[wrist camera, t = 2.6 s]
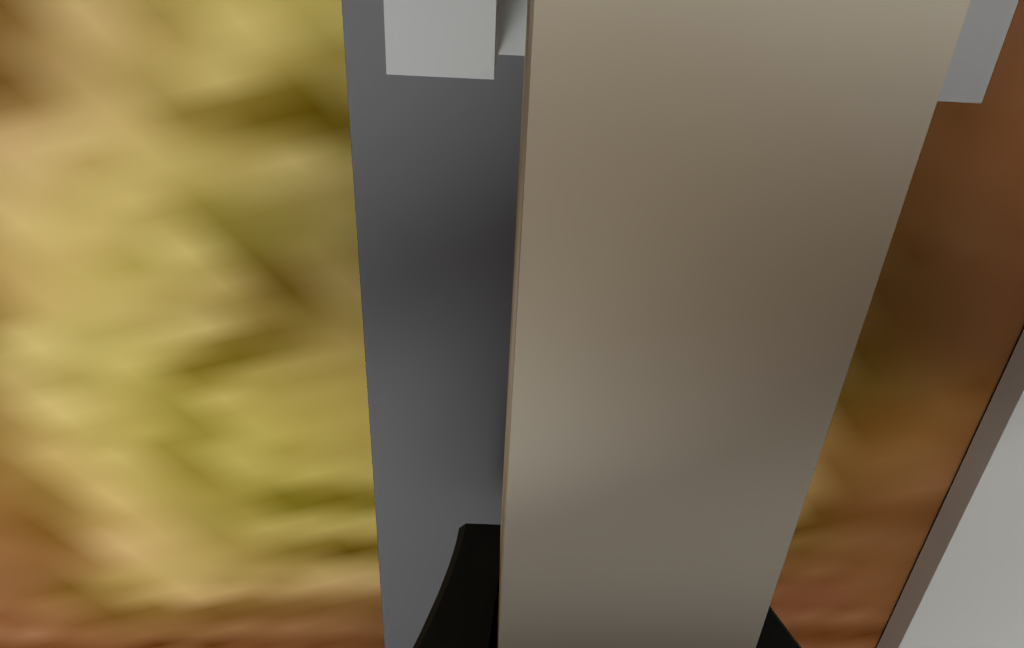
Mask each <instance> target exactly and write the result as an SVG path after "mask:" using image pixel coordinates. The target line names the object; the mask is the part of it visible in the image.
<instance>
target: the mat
mask: <svg viewBox="0 0 1024 648" xmlns="http://www.w3.org/2000/svg"><path fill="white" fill-rule="evenodd" d="M877 648H1024V330H1023V332H1022V334H1021V337H1020V339H1019V341H1018V343H1017V345H1016V347H1015V350H1014V352H1013V354H1012V356H1011V358H1010V360H1009V363H1008V365H1007V367H1006V369H1005V371H1004V373H1003V376H1002V378H1001V380H1000V382H999V384H998V386H997V388H996V391H995V393H994V395H993V397H992V399H991V401H990V404H989V406H988V408H987V410H986V412H985V414H984V417H983V419H982V421H981V423H980V425H979V427H978V430H977V432H976V434H975V436H974V438H973V440H972V443H971V445H970V447H969V449H968V451H967V453H966V456H965V458H964V460H963V462H962V464H961V466H960V469H959V471H958V473H957V475H956V477H955V479H954V481H953V484H952V486H951V488H950V490H949V492H948V494H947V497H946V499H945V501H944V503H943V505H942V507H941V510H940V512H939V514H938V516H937V518H936V520H935V523H934V525H933V527H932V529H931V531H930V533H929V536H928V538H927V540H926V542H925V544H924V546H923V549H922V551H921V553H920V555H919V557H918V559H917V561H916V564H915V566H914V568H913V570H912V572H911V574H910V577H909V579H908V581H907V583H906V585H905V587H904V590H903V592H902V594H901V596H900V598H899V600H898V603H897V605H896V607H895V609H894V611H893V613H892V616H891V618H890V620H889V622H888V624H887V626H886V629H885V631H884V633H883V635H882V637H881V639H880V641H879V644H878V646H877Z"/></svg>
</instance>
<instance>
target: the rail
mask: <svg viewBox="0 0 1024 648" xmlns="http://www.w3.org/2000/svg"><path fill="white" fill-rule="evenodd" d="M970 2H971V0H527V19H526V39H525V58H524V78H523V97H522V117H521V136H520V156H519V175H518V195H517V214H516V234H515V254H514V273H513V293H512V312H511V332H510V351H509V371H508V390H507V410H506V429H505V449H504V469H503V488H502V508H501V527H500V573H499V592H498V611H497V630H496V648H756V645H757V642H758V639H759V636H760V633H761V630H762V627H763V624H764V621H765V618H766V615H767V612H768V609H769V606H770V603H771V600H772V597H773V594H774V591H775V588H776V585H777V582H778V579H779V576H780V573H781V570H782V567H783V564H784V561H785V558H786V555H787V552H788V549H789V546H790V543H791V540H792V537H793V534H794V531H795V528H796V525H797V522H798V519H799V516H800V513H801V510H802V507H803V504H804V501H805V498H806V495H807V492H808V489H809V486H810V483H811V480H812V477H813V474H814V471H815V468H816V465H817V462H818V459H819V456H820V453H821V450H822V447H823V444H824V441H825V438H826V435H827V432H828V429H829V426H830V423H831V420H832V417H833V414H834V411H835V408H836V405H837V402H838V399H839V396H840V393H841V390H842V387H843V384H844V381H845V378H846V375H847V372H848V369H849V366H850V363H851V360H852V357H853V354H854V351H855V348H856V345H857V342H858V339H859V336H860V333H861V330H862V327H863V324H864V321H865V318H866V315H867V312H868V309H869V306H870V303H871V300H872V297H873V294H874V290H875V287H876V284H877V281H878V278H879V275H880V272H881V269H882V266H883V263H884V260H885V257H886V254H887V251H888V248H889V245H890V242H891V239H892V236H893V233H894V230H895V227H896V224H897V221H898V218H899V215H900V212H901V209H902V206H903V203H904V200H905V197H906V194H907V191H908V188H909V185H910V182H911V179H912V176H913V173H914V170H915V167H916V164H917V161H918V158H919V155H920V152H921V149H922V146H923V143H924V140H925V137H926V134H927V131H928V128H929V125H930V122H931V119H932V116H933V113H934V110H935V107H936V104H937V101H938V98H939V95H940V92H941V89H942V86H943V83H944V80H945V77H946V74H947V71H948V68H949V65H950V62H951V59H952V56H953V53H954V50H955V47H956V44H957V41H958V38H959V35H960V32H961V29H962V26H963V23H964V20H965V17H966V14H967V11H968V8H969V5H970Z"/></svg>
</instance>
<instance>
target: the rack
mask: <svg viewBox="0 0 1024 648" xmlns="http://www.w3.org/2000/svg"><path fill="white" fill-rule="evenodd" d="M1018 1H1019V0H971V2H970V5H969V8H968V11H967V14H966V17H965V20H964V23H963V26H962V29H961V32H960V35H959V38H958V41H957V44H956V47H955V50H954V53H953V56H952V59H951V62H950V65H949V68H948V71H947V74H946V77H945V80H944V83H943V86H942V89H941V92H940V95H939V98H938V101H944V102H965V103H982V100H983V98H984V95H985V92H986V89H987V86H988V84H989V81H990V78H991V75H992V73H993V70H994V67H995V64H996V62H997V59H998V56H999V53H1000V51H1001V48H1002V45H1003V42H1004V40H1005V37H1006V34H1007V31H1008V29H1009V26H1010V23H1011V20H1012V18H1013V15H1014V12H1015V9H1016V7H1017V4H1018ZM342 14H343V29H344V44H345V59H346V74H347V89H348V104H349V119H350V134H351V149H352V164H353V179H354V194H355V209H356V224H357V239H358V254H359V269H360V284H361V299H362V314H363V329H364V344H365V359H366V374H367V389H368V404H369V419H370V434H371V449H372V464H373V479H374V494H375V509H376V524H377V539H378V554H379V569H380V584H381V599H382V614H383V629H384V644H385V648H413V646H414V644H415V642H416V640H417V638H418V636H419V634H420V632H421V630H422V628H423V626H424V624H425V621H426V619H427V617H428V615H429V612H430V610H431V608H432V606H433V604H434V601H435V599H436V597H437V595H438V592H439V590H440V587H441V585H442V582H443V580H444V577H445V574H446V572H447V569H448V566H449V563H450V560H451V557H452V554H453V551H454V547H455V544H456V540H457V535H458V530H459V528H460V527H461V526H463V525H464V524H466V523H470V524H496V525H501V508H502V488H503V469H504V449H505V429H506V410H507V390H508V371H509V351H510V332H511V312H512V293H513V273H514V254H515V234H516V214H517V195H518V175H519V156H520V136H521V117H522V97H523V78H524V58H525V39H526V19H527V0H342Z"/></svg>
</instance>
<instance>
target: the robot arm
mask: <svg viewBox="0 0 1024 648" xmlns="http://www.w3.org/2000/svg"><path fill="white" fill-rule="evenodd" d="M500 527H501V525H496V524H470V523H466V524H464V525H463V526H461V527H460V528H459V530H458V535H457V540H456V544H455V547H454V551H453V554H452V557H451V560H450V563H449V566H448V569H447V572H446V574H445V577H444V580H443V582H442V585H441V587H440V590H439V592H438V595H437V597H436V599H435V601H434V604H433V606H432V608H431V610H430V612H429V615H428V617H427V619H426V621H425V624H424V626H423V628H422V630H421V632H420V634H419V636H418V638H417V640H416V642H415V644H414V646H413V648H496V630H497V611H498V592H499V573H500ZM756 648H801V647H800V645H799V644H798V643H797V641H796V640H795V639H794V637H793V636H792V635H791V634H790V632H789V631H788V630H787V628H786V627H785V626H784V624H783V623H782V622H781V621H780V619H779V618H778V617H777V615H776V614H775V612H774V611H773V610H772V608H771V607H770V606H769V609H768V612H767V615H766V618H765V621H764V624H763V627H762V630H761V633H760V636H759V639H758V642H757V645H756Z"/></svg>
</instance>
